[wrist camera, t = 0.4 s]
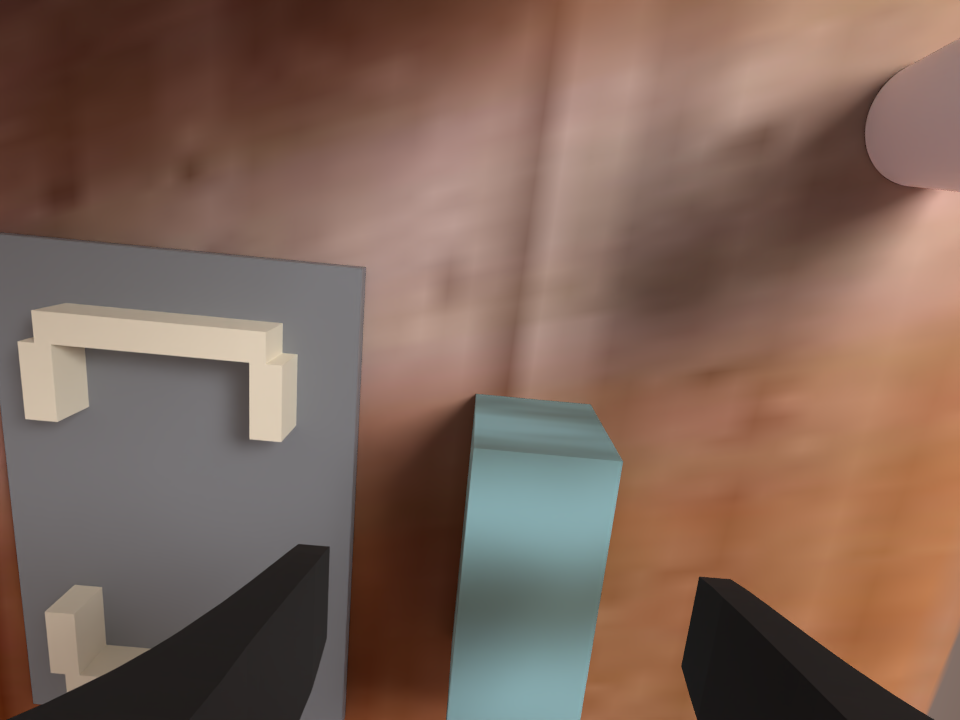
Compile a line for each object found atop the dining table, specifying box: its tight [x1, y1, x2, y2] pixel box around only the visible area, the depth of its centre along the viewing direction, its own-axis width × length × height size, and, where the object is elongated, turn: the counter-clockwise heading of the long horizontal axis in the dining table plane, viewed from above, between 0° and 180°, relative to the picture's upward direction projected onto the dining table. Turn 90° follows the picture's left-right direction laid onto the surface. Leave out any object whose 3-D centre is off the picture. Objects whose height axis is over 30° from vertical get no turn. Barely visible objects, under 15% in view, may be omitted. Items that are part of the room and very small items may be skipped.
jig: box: [0, 232, 366, 720], centre depth 20 cm, size 18×12×2 cm, turn 175°
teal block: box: [446, 394, 623, 720], centre depth 19 cm, size 10×4×5 cm, turn 175°
